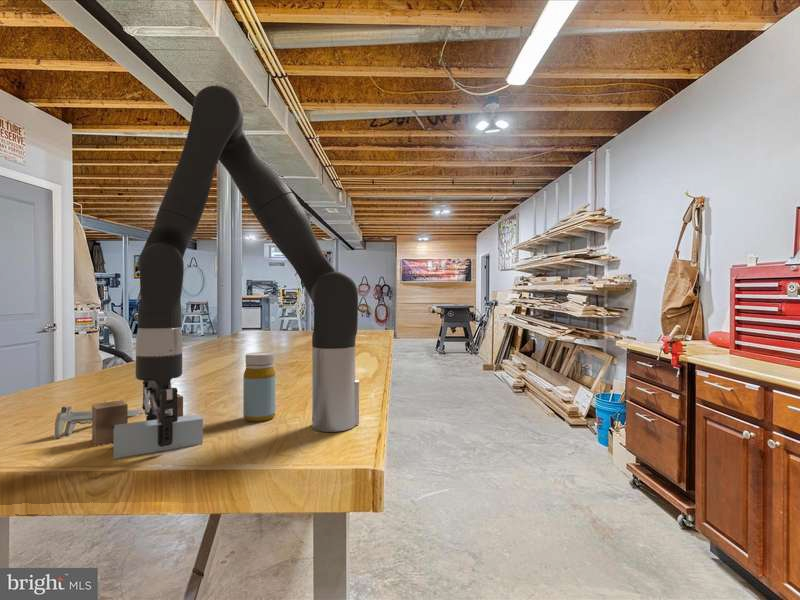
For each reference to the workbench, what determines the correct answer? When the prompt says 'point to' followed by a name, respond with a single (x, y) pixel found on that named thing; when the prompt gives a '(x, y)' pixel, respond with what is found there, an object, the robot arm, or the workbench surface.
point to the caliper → (77, 419)
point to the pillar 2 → (178, 406)
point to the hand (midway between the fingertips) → (158, 439)
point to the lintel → (155, 436)
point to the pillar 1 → (107, 420)
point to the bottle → (259, 387)
